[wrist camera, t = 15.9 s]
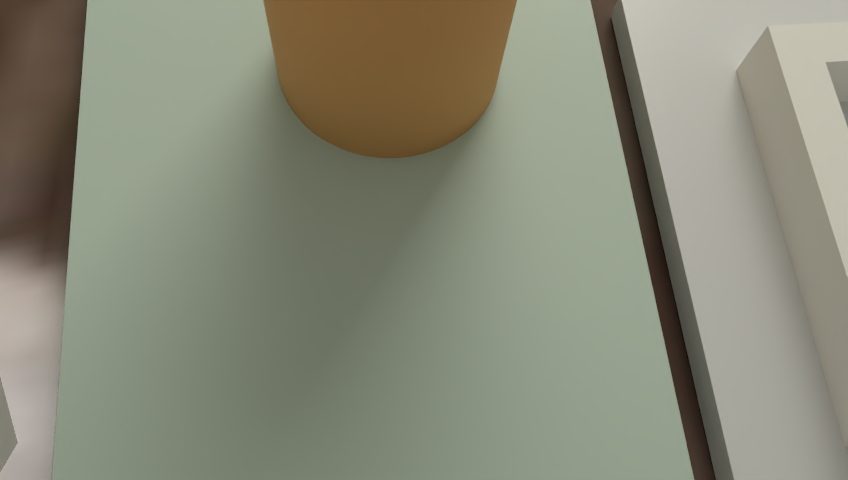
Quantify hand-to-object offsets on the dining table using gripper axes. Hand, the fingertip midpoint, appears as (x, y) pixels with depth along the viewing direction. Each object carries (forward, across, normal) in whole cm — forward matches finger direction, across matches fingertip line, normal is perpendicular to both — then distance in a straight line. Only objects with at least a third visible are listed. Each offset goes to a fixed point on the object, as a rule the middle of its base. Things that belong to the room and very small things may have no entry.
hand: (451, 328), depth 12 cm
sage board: (+12, +1, -1) cm, 13 cm away
